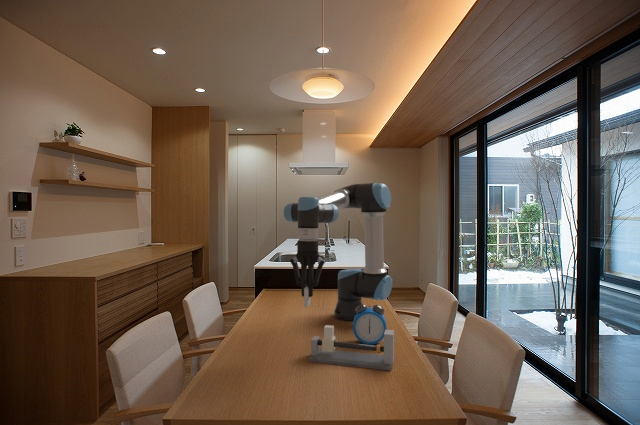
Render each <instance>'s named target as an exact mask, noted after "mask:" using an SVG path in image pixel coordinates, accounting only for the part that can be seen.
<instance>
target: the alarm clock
mask: <svg viewBox="0 0 640 425" xmlns="http://www.w3.org/2000/svg"><path fill="white" fill-rule="evenodd" d="M355 312H356V313H357V314H356V315H355V317H354V321H353V322H352V331H353V334H354V336H355V338H356V339H357V340H358V341H359V342H360V343H359V344H364V345H375V344H376V345H380V344H379V343H381V341H383V340H384V333H385V330H388V328H387V320H386V317H385V316H384V314H385V309H384V307H383V306H382V305H381V304H374V305H373V306H371V305H369V306H368V307H367V305H366V304H364V303H362V304H360V305H358V306H357V307H356V309H355Z"/></svg>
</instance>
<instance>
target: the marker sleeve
mask: <svg viewBox="0 0 640 425" xmlns="http://www.w3.org/2000/svg"><path fill="white" fill-rule="evenodd" d="M336 337H337V336H336V335H335V326H334V325H327V324H326V325H325V326H324V328H323V337H322V339H321V340H322V346H321V349H322V351H325V352H334V350H336V348H337V347H334V342H337V341H336V340H337V338H336Z"/></svg>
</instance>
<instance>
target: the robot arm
mask: <svg viewBox="0 0 640 425" xmlns="http://www.w3.org/2000/svg"><path fill="white" fill-rule="evenodd" d="M391 205H392V194H391V191H390V189H389V188H388V186H387V185H386V184H384V183H379V182H373V183H372V182H371V183H354V184H350V185H346V186H344V187H340V188H338V189H335V190H334V191H333V192H332V193H328V194H325V195H321V196H302V197H299V198H298V202H297V203H296V202H292V203H287V204H286V205H285V206H284V208H283V217H284V220H286V221H287V222H291V223H297V239H298V240H297V242H296V244H297V245H296V246H297V249H296V250H297V251H296V252H297V253H295V256H294V257H293V258H290V259H289V262H290V264H291V265H292V269H293V270H292V271H293V274H294V279H295V283H296V286H298V287H301V297H303V307H307V308H308V307H309V306H311V297H313V296H314V288H316V287H317V286H318V285H319V282H320V278H321V274H322V270H323V267H324V266H325V264H326V259H323V258H321V257H320V253H319V241H318V240H319V224H330V223H334V222H336V221H337V220H338V218H339V215H340V213H339V212H340V211H339V210H344V209H360V213H361V214H362V215H363V217H364V260H365V261H364V262H365V267H364V268H363V269H362V268H346V269H342V270H339V271H338V273H337V302H336V305H335V308H334V311H333V317H334V318H335V319H338V320H341V321H349V322H350V321H351V322H352V321H354V317H355V315H356V314H357V313H356V312H355V309H356V307H357V306H358V305H360V304H363V302H362V298H363V299H369V300H370V299H371V300H374V301H385V300H387V299H388V298H389V296H390V294H391V292H392V288H393V278H392V277H391V275H388V270H387V269H386V268H385V263H384V262H385V258H384V256H385V253H384V252H385V251H384V250H385V249H384V215H385V214H386V213H387V210H388V209H389V208H390V206H391ZM316 263H317V268H316V271H315V276H314V268H315V265H316ZM299 264H300V268H301V269H300V268H299ZM300 270H301V273H300ZM307 270H308V271H307ZM307 272H308V273H307ZM307 274H308V275H307ZM307 276H308V278H307ZM307 279H308V282H307Z"/></svg>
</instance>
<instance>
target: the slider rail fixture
mask: <svg viewBox="0 0 640 425" xmlns="http://www.w3.org/2000/svg"><path fill="white" fill-rule="evenodd" d="M320 338H321V337H320V336H319V335H317V336H316V335H313V337H312V338H311V339H310V340H311V342H310V346H311V347H310V348H311V349H310V356H309V358H308V362H309V363H310V362H311V363H318V364H327V365H328V364H329V365H336V366H345V367H355V368H361V369H362V368H363V369H370V370H371V369H372V370H380V371H387V372H389V371H390V372H391V371H392V368H393V365H394V360H395V330H394V329H387V330H385V333H384V338H383V345H381V344H379V345H378V344H376V345H375V344H371V345H369V344H365V343H361V344H360V343H355V342H354V343H352V342H344V341H343V342H342V341H336V342H334V347H336V348H341V349H342V348H343V349H350V350H361V351H369V352H370V351H371V352H376V353H368V352H367V353H365V352H355V351H347V350H339V349H338V350H337V349H335V350H334V352H325V351H322V348H321V347H322V339H320ZM320 346H321V347H320ZM377 353H378V354H377ZM381 353H383V354H381Z"/></svg>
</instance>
